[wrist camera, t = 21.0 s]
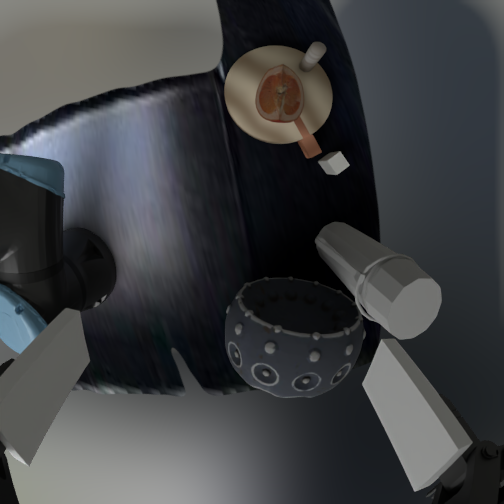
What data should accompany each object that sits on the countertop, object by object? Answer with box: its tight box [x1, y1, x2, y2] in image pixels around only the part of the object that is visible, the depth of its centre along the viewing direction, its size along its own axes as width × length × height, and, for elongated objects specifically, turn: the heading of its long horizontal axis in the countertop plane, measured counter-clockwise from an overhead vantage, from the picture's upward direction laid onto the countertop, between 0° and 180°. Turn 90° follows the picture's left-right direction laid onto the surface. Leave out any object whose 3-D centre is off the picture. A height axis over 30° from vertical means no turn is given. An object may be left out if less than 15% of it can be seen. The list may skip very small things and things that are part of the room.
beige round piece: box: [225, 42, 333, 158], centre depth 33 cm, size 16×19×10 cm
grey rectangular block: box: [318, 151, 350, 175], centre depth 40 cm, size 2×2×5 cm
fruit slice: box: [255, 64, 304, 123], centre depth 33 cm, size 8×7×5 cm
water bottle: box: [315, 222, 442, 339], centre depth 34 cm, size 9×8×25 cm
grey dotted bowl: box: [225, 277, 366, 398], centre depth 39 cm, size 11×20×20 cm, turn 83°
